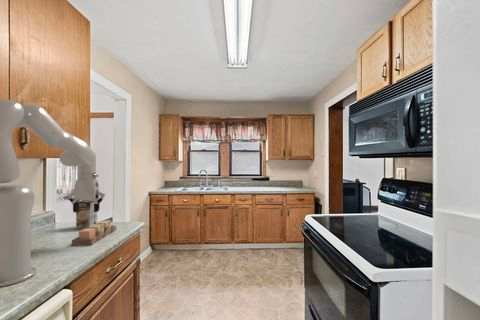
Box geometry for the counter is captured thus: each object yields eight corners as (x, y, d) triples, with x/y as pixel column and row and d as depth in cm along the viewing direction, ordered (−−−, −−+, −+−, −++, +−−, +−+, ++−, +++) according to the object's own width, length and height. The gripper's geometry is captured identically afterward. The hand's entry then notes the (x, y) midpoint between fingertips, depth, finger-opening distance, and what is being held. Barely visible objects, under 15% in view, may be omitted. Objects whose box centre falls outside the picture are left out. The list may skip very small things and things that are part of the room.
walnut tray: (91, 245, 114) (91, 232, 114) (71, 245, 113) (71, 232, 113) (116, 229, 139) (116, 219, 139) (100, 230, 138) (100, 219, 138)
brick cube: (89, 241, 116) (89, 231, 116) (78, 241, 116) (78, 231, 116) (95, 238, 121) (95, 228, 121) (85, 238, 121) (85, 228, 121)
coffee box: (75, 229, 141) (75, 201, 141) (83, 226, 148) (83, 199, 148) (90, 229, 140) (89, 201, 140) (97, 226, 147) (97, 200, 147)
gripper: (108, 176, 122) (108, 210, 122) (73, 176, 121) (73, 210, 121) (100, 176, 115) (100, 213, 114) (63, 177, 114) (62, 213, 113)
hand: (86, 211), depth 118 cm, fingers open, 9 cm apart
